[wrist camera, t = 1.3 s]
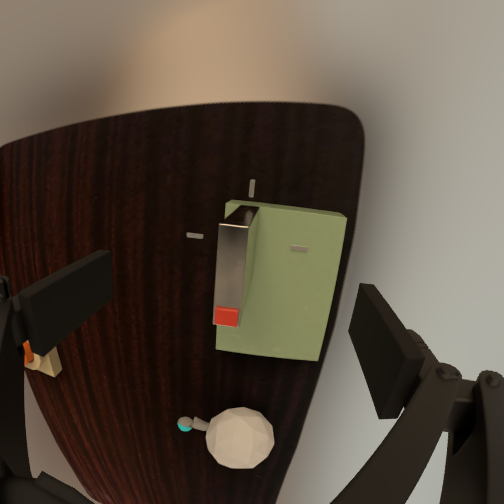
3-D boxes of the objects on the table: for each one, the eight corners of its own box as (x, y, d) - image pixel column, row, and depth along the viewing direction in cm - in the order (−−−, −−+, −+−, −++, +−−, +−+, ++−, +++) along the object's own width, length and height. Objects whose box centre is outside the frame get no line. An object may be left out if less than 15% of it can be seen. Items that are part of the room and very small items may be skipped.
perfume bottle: (273, 463, 32) (186, 447, 34) (281, 406, 35) (192, 393, 37) (265, 484, 25) (161, 460, 27) (275, 416, 28) (168, 397, 30)
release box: (16, 300, 34) (-1, 311, 30) (47, 310, 33) (30, 323, 29) (31, 356, 36) (17, 369, 33) (62, 369, 36) (48, 384, 32)
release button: (12, 331, 31) (4, 337, 29) (29, 338, 31) (22, 345, 29) (19, 355, 32) (12, 360, 30) (37, 363, 32) (30, 369, 30)
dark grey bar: (240, 204, 25) (217, 224, 16) (260, 206, 24) (248, 227, 16) (233, 274, 26) (211, 326, 17) (252, 276, 26) (238, 330, 17)
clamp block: (200, 174, 27) (190, 174, 24) (343, 190, 26) (351, 192, 23) (192, 329, 31) (184, 344, 28) (315, 345, 31) (317, 362, 28)
